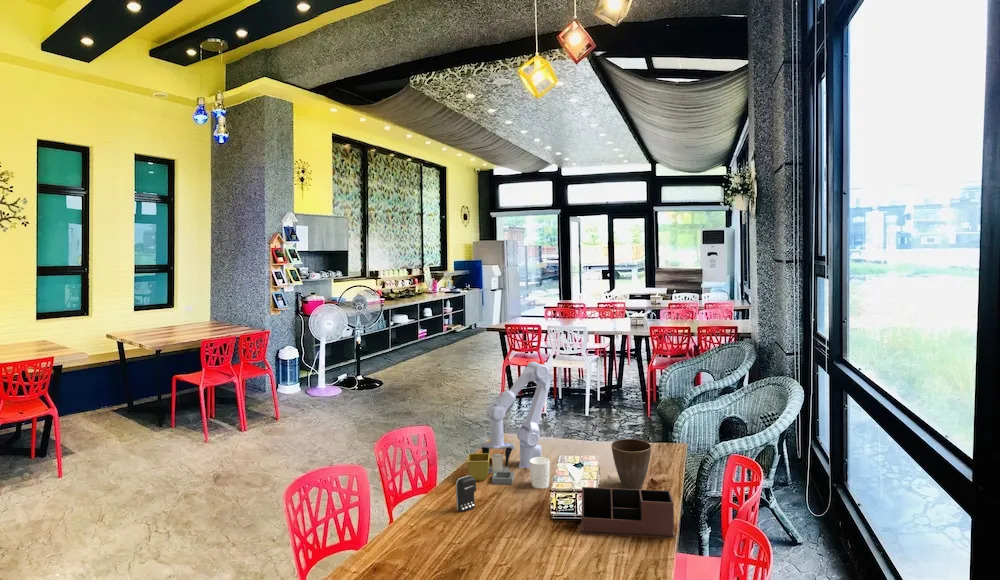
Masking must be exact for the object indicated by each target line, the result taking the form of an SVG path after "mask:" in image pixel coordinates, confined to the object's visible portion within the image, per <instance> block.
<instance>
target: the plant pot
mask: <svg viewBox="0 0 1000 580" xmlns="http://www.w3.org/2000/svg"><path fill="white" fill-rule="evenodd" d="M611 452H612V456H613V462H614V467H615V470H616V473H617V475H618V478H619V481H620V483H621V485H622V487H623V489H642V488H643V485H644V483H645V480H646V477H647V474H648V469H649V464H650V460H651V452H652V444H650V442H648V441H645V440H641V439H635V438H627V439H626V438H624V439H618V440H615V441H613V442H611Z"/></svg>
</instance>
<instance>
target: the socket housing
mask: <svg viewBox="0 0 1000 580" xmlns="http://www.w3.org/2000/svg"><path fill="white" fill-rule="evenodd" d="M492 474H493V475H492V478H491V485H513V482H514V477H515V471H509V470H508V471H494V473H492Z"/></svg>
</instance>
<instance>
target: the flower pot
mask: <svg viewBox="0 0 1000 580" xmlns="http://www.w3.org/2000/svg"><path fill="white" fill-rule="evenodd" d="M490 456H491V455H490V452H489V453H484V454H483V453H468V455H467V460H466V464H467V471H468V475H469V476H472V477H473V478H474V479H475V481H476V482H477V481H486V479H487V477H488V475H489V473H488V469H489V466H490V465H489V460H490V458H491V457H490Z"/></svg>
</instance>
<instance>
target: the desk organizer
mask: <svg viewBox="0 0 1000 580" xmlns="http://www.w3.org/2000/svg"><path fill="white" fill-rule="evenodd" d="M674 507H675V504H674V500H673V496H672V494H671V490H666V489H665V490H664V489H663V490H660V489H659V490H658V489H642V488H640V489H626V488H616V487H615V488H614V487H595V486H594V487H593V486H592V487H591V486H590V487H589V486H588V487H587V486H582V488H581V522H580V534H589V535H590V534H595V535H612V536H613V535H614V536H631V537H633V536H634V537H646V538H648V537H649V538H664V539H665V538H666V539H667V538H668V539H676V538H677V537H676V534H675V514H674V513H675V509H674Z"/></svg>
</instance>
